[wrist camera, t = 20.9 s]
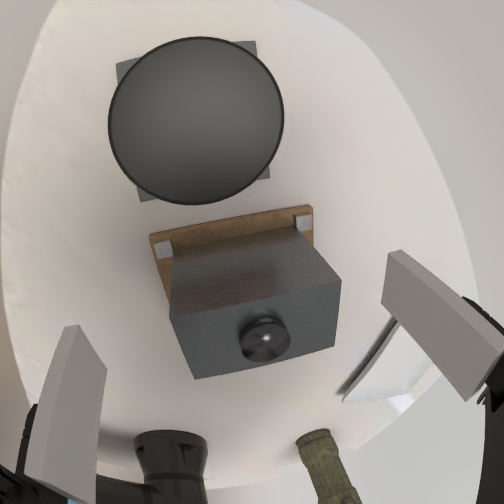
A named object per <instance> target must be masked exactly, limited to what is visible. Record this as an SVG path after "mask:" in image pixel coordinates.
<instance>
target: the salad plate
mask: <svg viewBox="0 0 504 504" xmlns="http://www.w3.org/2000/svg"><path fill="white" fill-rule="evenodd" d="M432 363H433V361H432V360H431V359H430V358H429V357H428V355H427V354H426V353H425V352H424V351H423V350H422V348H421V347H420V346H419V345H418V344H417V343H416V342H415V340H414V339H413V338H412V337H411V336H410V335H409V334H408V332H407V331H406V330H405V329H404V328H403V327H402V326H401V325H400V323H399V322H397V323H396V324H395V326H394V327H393V328H392V330H391V331H390V333H389V334H388V336H387V338H386V339H385V341H384V342H383V344H382V345H381V347H380V348H379V349H378V351H377V352H376V353H375V355H374V356H373V358H372V359H371V360H370V362H369V363H368V364H367V366H366V367H365V368H364V370H363V371H362V372H361V373H360V375H359V376H358V377H357V378H356V380H355V381H354V382H353V383H352V384H351V386H350V387H349V388H348V390H347V391H346V393H345V394H344V396H343V398H342V404H349V403H357V402H364V401H370V400H376V399H382V398H387V397H392V396H397V395H401V394H405V393H407V392H408V391H409V390H410V389H411V388H412V387H413V386H414V385H415V384H416V383H417V381H418V380H419V379H420V378H421V377H422V375H423V374H424V373H425V372H426V371H427V369H428V368H429V367H430V366H431V364H432Z"/></svg>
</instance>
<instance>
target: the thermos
mask: <svg viewBox="0 0 504 504" xmlns="http://www.w3.org/2000/svg"><path fill="white" fill-rule="evenodd" d="M296 444H297V446H298V449H299V454H300V457H301V460H302V462H303V464H304V465H305V466H306V468H307V469H308V472H309V474H310V477H311V480H312V482H313V485H314V488H315V491H316V493H317V496H318V504H362V502H361V500H360V497H359V495H358V493H357V491H356V489H355V488H354V487H353V486H352V485H351V482H350V480H349V478H348V476H347V473H346V471H345V469H344V467H343V464H342V462H341V460H340V458H339V450H338V447H337V445H336V443H335V441H334V438H333V437H332V436H331V434H330V431H329V429H319V430H315V431H312V432H309V433H307V434H305V435H303V436H301V437H300V438H299V439H298V440H297V441H296Z"/></svg>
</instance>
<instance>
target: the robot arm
mask: <svg viewBox="0 0 504 504" xmlns="http://www.w3.org/2000/svg"><path fill="white" fill-rule="evenodd" d="M381 304H382V305H383V306H384V307H385V308H386V309H387V310H388V311H389V312H390V314H391V315H392V316H393V317H394V318H395V319H396V320H397V321H398V322H399V323H400V325H401V326H402V327H403V328H404V329H405V330H406V331H407V332H408V334H409V335H410V336H411V337H412V338H413V339H414V340H415V342H416V343H417V344H418V345H419V346H420V347H421V348H422V350H423V351H424V352H425V353H426V354H427V355H428V357H429V358H430V359H431V360H432V361H433V363H434V364H435V365H436V366H437V367H438V368H439V370H440V371H441V372H442V373H443V375H444V376H445V377H446V378H447V379H448V381H449V382H450V383H451V384H452V386H453V387H454V388H455V389H456V391H457V392H458V393H459V394H460V396H461V397H462V398H463V399H464V401H465V402H466V401H467V400H469V399H470V398H471V397H473V396H474V395H475V394H476V393H477V392H478V391H479V390H480V389H481V387H482V386H483V384H484V383H486V384H487V387H486V388H485V390H484V391H483V392H482V394H481V395H480V397H479V398H478V400H477V404H480V402H481V401H482V400H483V398H484V397H485V399H484V401H483V403H482V404H483V405H485V442H484V454H483V464H482V471H481V479H480V485H479V491H478V496H477V501H476V504H504V328H503V327H502V326H501V325H500V324H499V323H498V322H497V321H495V320H494V319H493V318H492V317H490V316H489V314H488V313H487V312H485V311H483V309H482V308H481V307H480V306H479V305H478V304H476V303H475V302H474V301H472V300H470V299H468V298H466V297H464V296H463V297H460V296H459V295H458V294H457V293H456V292H454V291H453V290H452V289H451V288H450V287H448V286H447V285H446V284H445V283H444V282H442V281H441V280H440V279H439V278H437V277H436V276H435V275H434V274H432V273H431V272H430V271H429V270H427V269H426V268H425V267H424V266H422V265H421V264H420V263H418V262H417V261H416V260H414V259H413V258H412V257H410V256H409V255H408V254H407V253H405V252H404V251H402V250H397V251H394V252H391V253H388V258H387V266H386V274H385V281H384V287H383V293H382V299H381ZM106 374H107V368H106V367H105V365H104V364H103V363H102V361H101V360H100V358H99V356H98V355H97V353H96V352H95V350H94V349H93V347H92V346H91V344H90V342H89V341H88V339H87V337H86V336H85V334H84V332H83V331H82V329H81V327H80V326H79V325H73V326H68V327H64V330H63V332H62V335H61V337H60V340H59V342H58V345H57V348H56V350H55V353H54V356H53V359H52V361H51V364H50V367H49V370H48V373H47V376H46V379H45V383H44V386H43V389H42V392H41V396H40V399H39V403H38V404H34V405H33V406H32V408H31V410H30V411H29V413H28V415H27V419H26V423H25V429H24V431H23V435H22V436H23V438H22V440H21V444H20V449H19V455H18V460H17V466H16V471H15V474H14V473H12V472H11V471H9V470H8V469H6V468H5V467H3V466H2V465H1V464H0V504H208V501H207V496H206V491H205V485H204V480H203V473H204V469H205V464H206V459H207V455H208V449H207V443H206V441H205V440H204V439H203V438H201V437H199V436H197V435H194V434H190V433H186V432H179V431H153V432H147V433H144V434H141V435H139V436H138V437H136V439H135V453H136V455H137V458H138V461H139V463H140V466H141V468H142V471H143V473H144V484H141V483H135V482H129V481H124V480H119V479H114V478H109V477H105V476H102V475H98V474H97V473H96V462H97V446H98V434H99V424H100V415H101V407H102V400H103V393H104V386H105V380H106Z"/></svg>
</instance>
